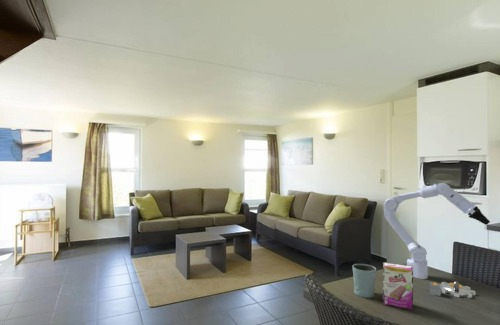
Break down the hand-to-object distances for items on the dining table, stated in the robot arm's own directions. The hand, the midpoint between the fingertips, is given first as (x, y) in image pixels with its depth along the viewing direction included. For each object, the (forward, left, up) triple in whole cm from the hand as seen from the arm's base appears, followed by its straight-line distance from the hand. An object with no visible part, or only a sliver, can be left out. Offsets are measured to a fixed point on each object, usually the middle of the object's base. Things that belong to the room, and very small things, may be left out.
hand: (487, 222), depth 134 cm
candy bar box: (-34, -40, -32) cm, 61 cm away
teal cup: (-48, -36, -32) cm, 68 cm away
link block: (-21, -20, -31) cm, 43 cm away
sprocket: (-13, -12, -31) cm, 36 cm away
